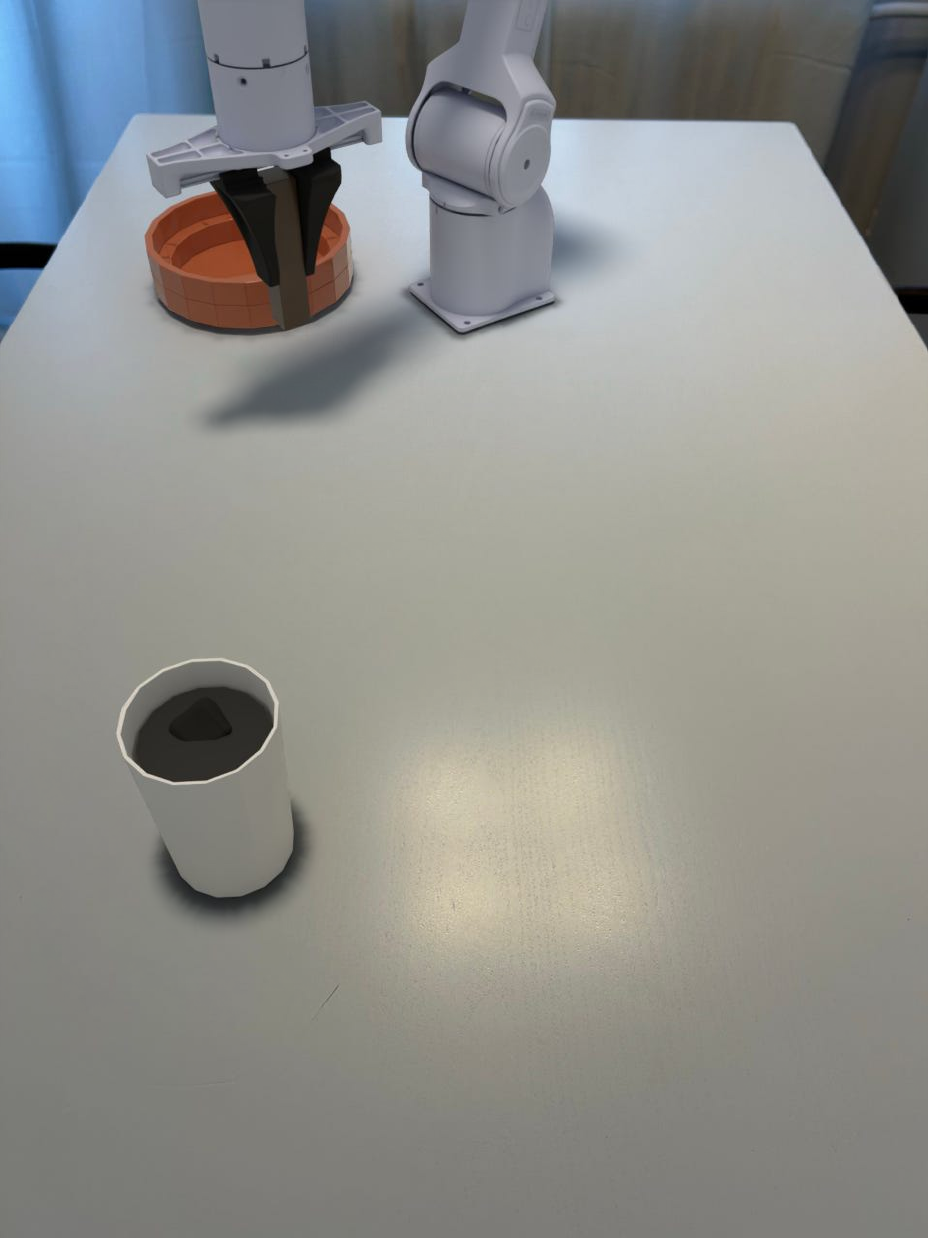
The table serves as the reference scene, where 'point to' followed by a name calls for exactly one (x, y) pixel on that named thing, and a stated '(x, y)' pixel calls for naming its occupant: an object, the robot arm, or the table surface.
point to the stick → (287, 252)
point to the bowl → (232, 265)
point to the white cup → (212, 772)
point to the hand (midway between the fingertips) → (285, 274)
